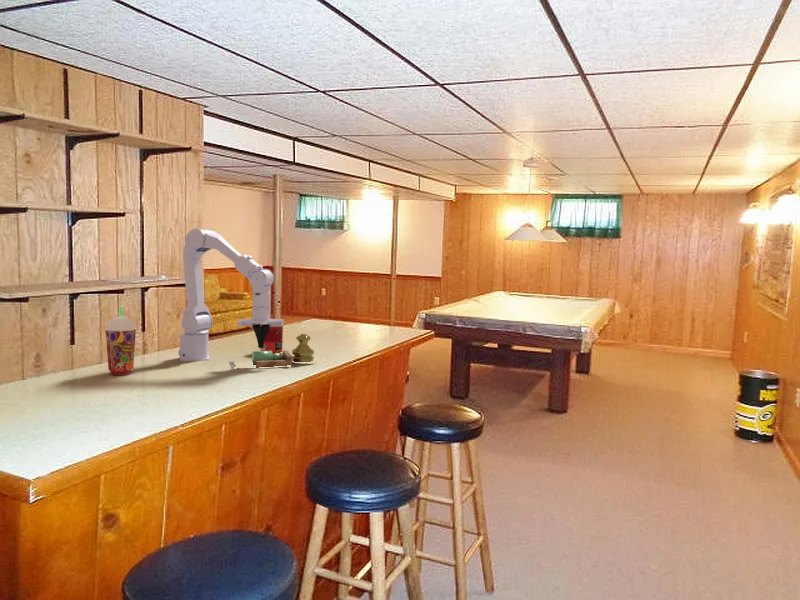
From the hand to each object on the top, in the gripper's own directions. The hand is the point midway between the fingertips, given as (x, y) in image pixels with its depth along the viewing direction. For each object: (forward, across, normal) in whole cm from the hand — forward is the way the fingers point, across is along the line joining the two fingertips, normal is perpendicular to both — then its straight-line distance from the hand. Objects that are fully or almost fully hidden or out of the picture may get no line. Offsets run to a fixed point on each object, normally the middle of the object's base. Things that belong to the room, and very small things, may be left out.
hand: (260, 347), depth 198 cm
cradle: (+6, 0, 0) cm, 6 cm away
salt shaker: (+6, +14, +2) cm, 16 cm away
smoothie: (+6, -42, -5) cm, 42 cm away
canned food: (+6, +6, +21) cm, 23 cm away
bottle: (+3, -2, 0) cm, 4 cm away
